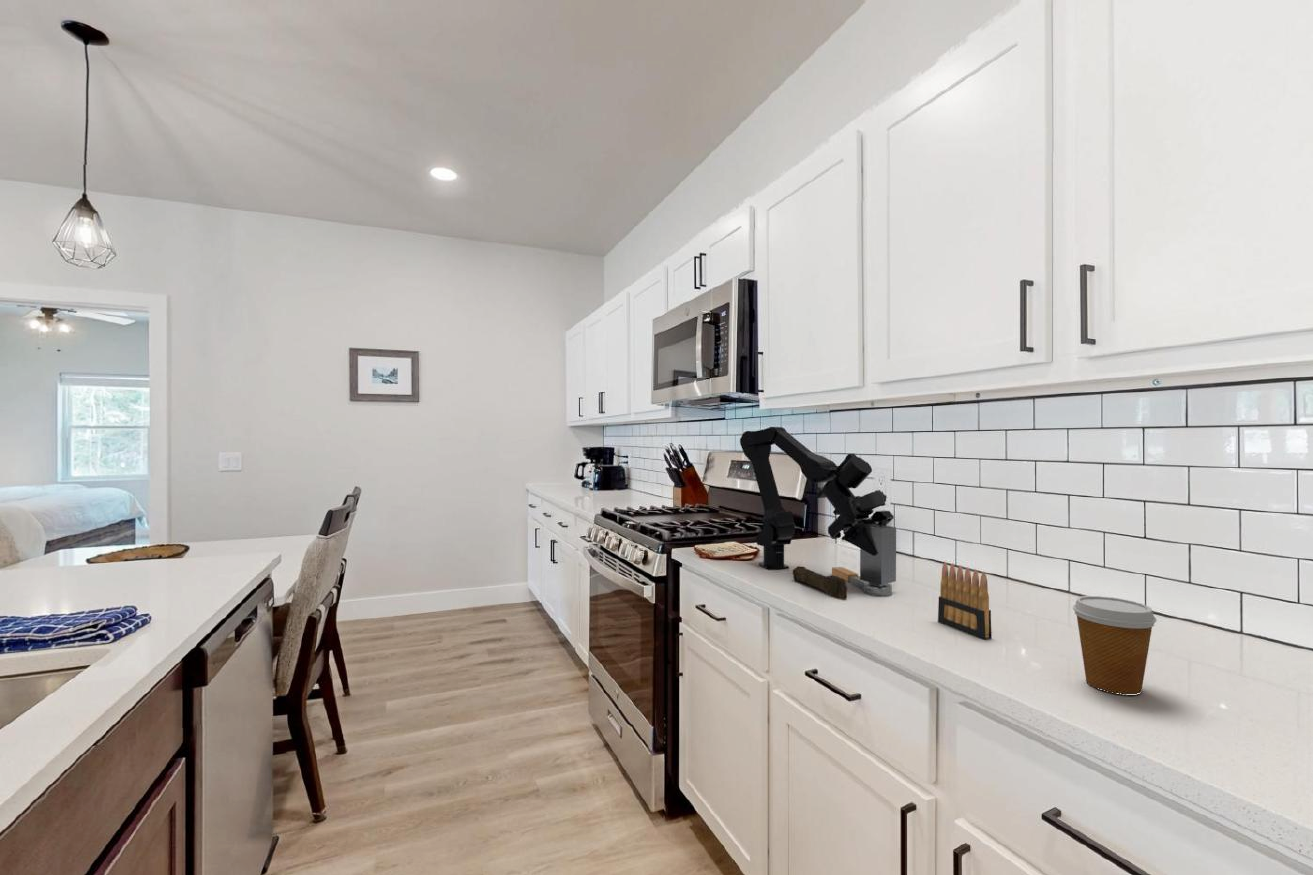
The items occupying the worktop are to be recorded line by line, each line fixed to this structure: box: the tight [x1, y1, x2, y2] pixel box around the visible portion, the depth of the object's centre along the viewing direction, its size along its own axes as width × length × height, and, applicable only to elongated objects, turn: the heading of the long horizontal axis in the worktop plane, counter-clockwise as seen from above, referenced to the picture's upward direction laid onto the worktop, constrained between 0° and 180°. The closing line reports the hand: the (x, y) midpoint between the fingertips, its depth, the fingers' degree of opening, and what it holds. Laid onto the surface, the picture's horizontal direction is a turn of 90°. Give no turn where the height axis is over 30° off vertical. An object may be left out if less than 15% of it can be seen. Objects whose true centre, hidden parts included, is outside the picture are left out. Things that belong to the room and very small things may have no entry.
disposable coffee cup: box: [1072, 595, 1158, 694], centre depth 84 cm, size 10×10×12 cm
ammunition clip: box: [937, 561, 993, 641], centre depth 108 cm, size 11×2×12 cm, turn 19°
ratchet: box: [831, 566, 893, 598], centre depth 142 cm, size 22×6×5 cm, turn 12°
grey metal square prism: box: [859, 524, 897, 585], centre depth 134 cm, size 6×6×12 cm
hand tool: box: [792, 565, 848, 600], centre depth 137 cm, size 19×4×5 cm, turn 17°
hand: (883, 553), depth 133 cm, fingers closed on grey metal square prism, 5 cm apart
